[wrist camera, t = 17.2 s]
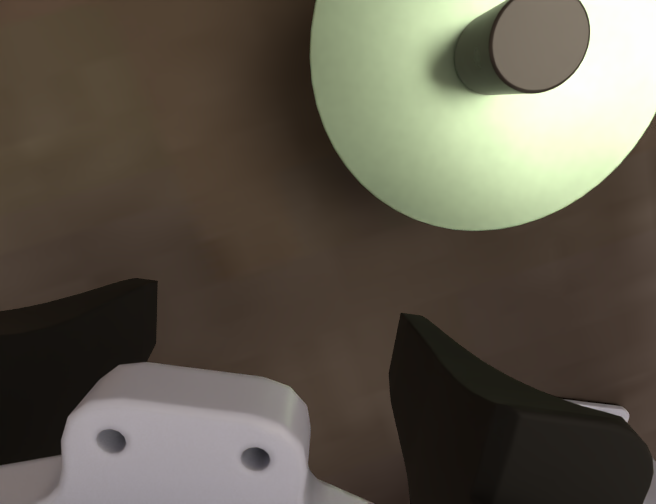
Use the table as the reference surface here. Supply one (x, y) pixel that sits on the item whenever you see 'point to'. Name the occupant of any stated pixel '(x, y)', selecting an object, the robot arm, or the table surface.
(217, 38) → the table surface
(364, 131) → the lid
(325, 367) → the table surface
